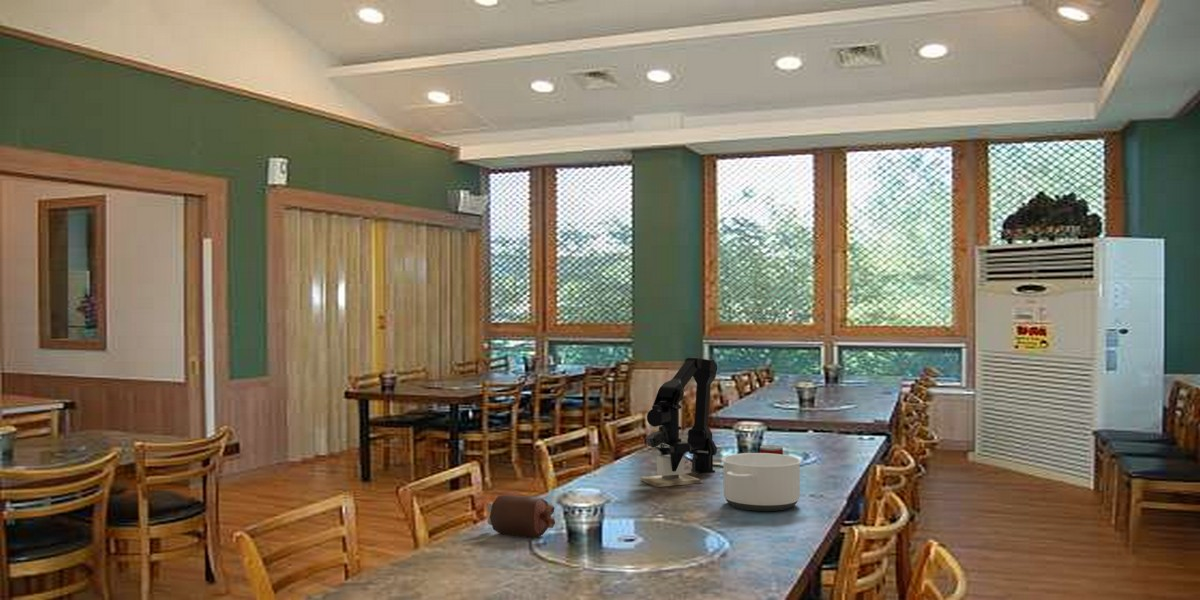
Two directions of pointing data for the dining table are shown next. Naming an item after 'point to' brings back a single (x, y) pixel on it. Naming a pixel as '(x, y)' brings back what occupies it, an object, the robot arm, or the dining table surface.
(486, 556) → the dining table surface
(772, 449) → the canned food
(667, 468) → the white rounded cube
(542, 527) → the meat
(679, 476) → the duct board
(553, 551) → the dining table surface
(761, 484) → the pot
